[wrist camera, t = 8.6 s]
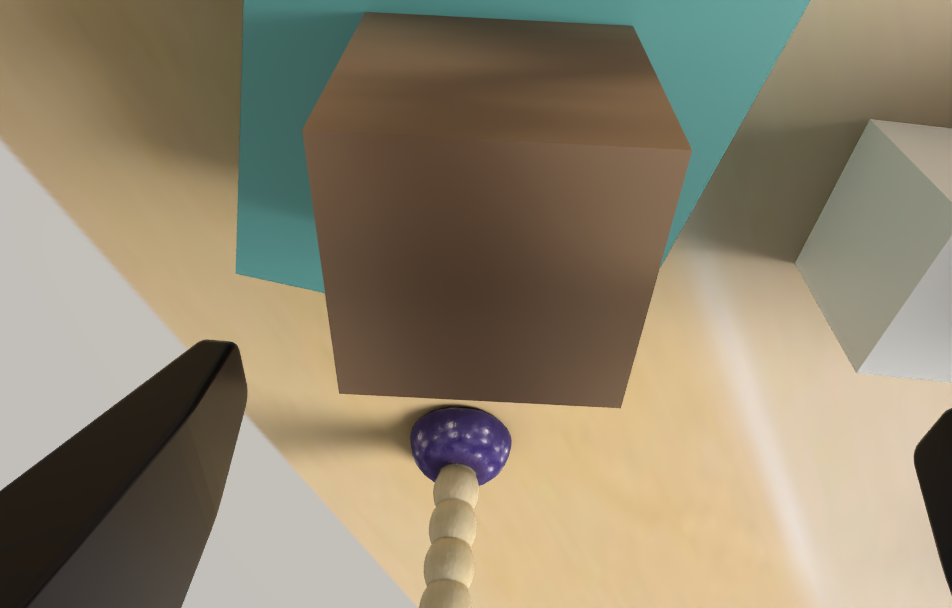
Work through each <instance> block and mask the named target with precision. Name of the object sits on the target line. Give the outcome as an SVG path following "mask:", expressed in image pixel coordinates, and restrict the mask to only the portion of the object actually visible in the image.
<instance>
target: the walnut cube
mask: <svg viewBox="0 0 952 608" xmlns="http://www.w3.org/2000/svg"><path fill="white" fill-rule="evenodd" d="M302 133H303V140H304V147H305V155H306V162H307V169H308V176H309V183H310V190H311V197H312V204H313V211H314V218H315V225H316V233H317V240H318V247H319V254H320V261H321V268H322V275H323V282H324V289H325V296H326V303H327V311H328V318H329V325H330V332H331V339H332V346H333V353H334V360H335V367H336V374H337V381H338V388H339V394H358V395H377V396H397V397H416V398H435V399H454V400H474V401H493V402H512V403H531V404H551V405H570V406H589V407H608V408H621V405H622V401H623V398H624V394H625V391H626V387H627V383H628V380H629V376H630V373H631V369H632V365H633V362H634V358H635V355H636V351H637V347H638V344H639V340H640V337H641V333H642V329H643V326H644V322H645V319H646V315H647V312H648V308H649V304H650V301H651V297H652V294H653V290H654V286H655V283H656V279H657V276H658V272H659V268H660V265H661V261H662V258H663V254H664V250H665V247H666V243H667V240H668V236H669V232H670V229H671V225H672V222H673V218H674V214H675V211H676V207H677V204H678V200H679V197H680V193H681V189H682V186H683V182H684V179H685V175H686V171H687V168H688V164H689V161H690V157H691V153H692V149H691V146H690V144H689V142H688V140H687V138H686V136H685V134H684V132H683V130H682V128H681V125H680V123H679V121H678V119H677V117H676V115H675V113H674V111H673V109H672V107H671V104H670V102H669V100H668V98H667V96H666V94H665V92H664V90H663V88H662V85H661V83H660V81H659V79H658V77H657V75H656V73H655V71H654V69H653V67H652V64H651V62H650V60H649V58H648V56H647V54H646V52H645V50H644V48H643V46H642V43H641V41H640V39H639V37H638V35H637V33H636V31H635V29H634V27H633V26H625V25H606V24H587V23H568V22H549V21H530V20H511V19H492V18H473V17H454V16H435V15H416V14H397V13H378V12H365V14H364V16H363V17H362V19H361V21H360V23H359V25H358V27H357V29H356V30H355V32H354V34H353V36H352V38H351V40H350V42H349V43H348V45H347V47H346V49H345V51H344V53H343V55H342V57H341V58H340V60H339V62H338V64H337V66H336V68H335V70H334V71H333V73H332V75H331V77H330V79H329V81H328V83H327V84H326V86H325V88H324V90H323V92H322V94H321V96H320V97H319V99H318V101H317V103H316V105H315V107H314V109H313V110H312V112H311V114H310V116H309V118H308V120H307V122H306V123H305V125H304V127H303V129H302Z"/></svg>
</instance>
